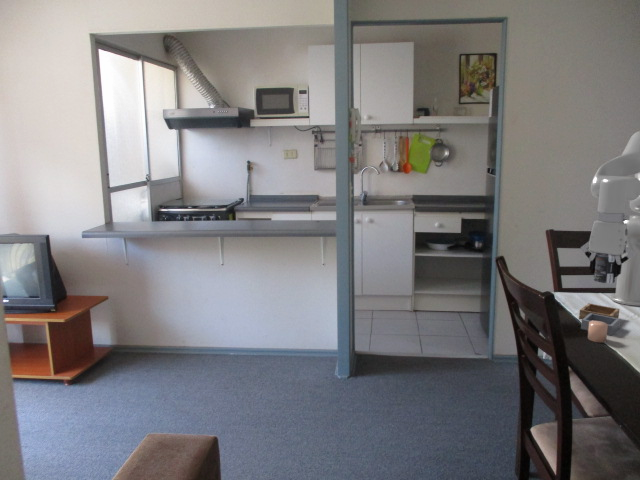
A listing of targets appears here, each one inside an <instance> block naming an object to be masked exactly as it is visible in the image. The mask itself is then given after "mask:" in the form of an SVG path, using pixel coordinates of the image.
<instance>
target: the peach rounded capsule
mask: <svg viewBox="0 0 640 480" xmlns="http://www.w3.org/2000/svg"><path fill="white" fill-rule="evenodd" d="M607 328H608V324H607V323H605V322H601V321H590V322H589V329H588V330H587V339H588V340H589V341H591V342H594V343H606V342H607V337H608V335H607Z"/></svg>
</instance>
